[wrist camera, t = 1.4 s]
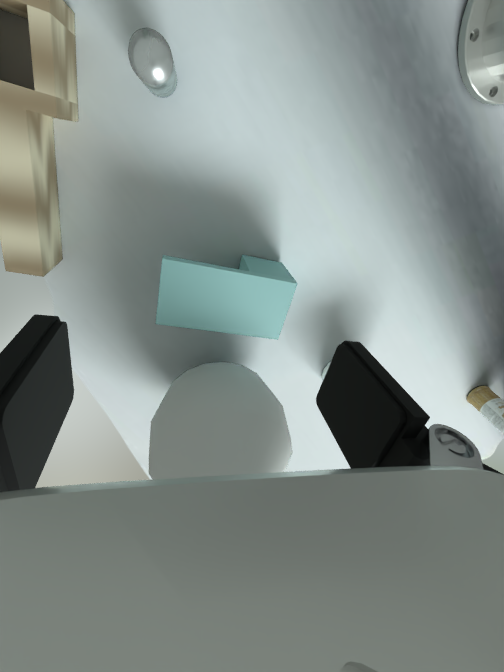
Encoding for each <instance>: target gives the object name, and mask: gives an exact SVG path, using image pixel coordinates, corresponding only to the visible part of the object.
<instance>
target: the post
mask: <svg viewBox="0 0 504 672" xmlns="http://www.w3.org/2000/svg"><path fill="white" fill-rule="evenodd" d="M128 55H129V60H130V63H131V66H132V68H133V70H134V72H135V73H136V75H137V76H138V77H139V78H140V79H141V81H142V82H143V83H144V84H145V86H146V87H147V88H148V89H149V90H150V92H152V93H153V94H154V95H156V96H158V97H161V98H165V97H168V96H170V95H171V94H172V93H173V92H174V91H175V88H176V85H177V75H176V71H175V66H174V62H173V58H172V54H171V50H170V47H169V45H168V43H167V42H166V40H165V39H164V37H163V36H162V35H161V34H159V33H158V32H157V31H155V30H153V29H150V28H142V29H139V30H137V31H136V32H135V33H134V34H133V35H132V37H131V39H130V42H129V47H128Z"/></svg>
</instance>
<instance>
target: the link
mask: <svg viewBox="0 0 504 672" xmlns="http://www.w3.org/2000/svg"><path fill="white" fill-rule="evenodd" d="M0 9H1V10H4V11H7V12H9V13H12V14H15V15H18V16H21V17H24V18H26V19H28V23H29V34H30V45H31V56H32V67H33V78H34V88H35V90H31V89H28V88H25V87H22V86H18V85H15V84H12V83H8V82H5V81H2V80H0V240H1V246H2V252H3V258H4V263H5V269H6V271H9V272H16V273H22V274H29V275H35V276H42V277H44V276H45V275H46V274H47V273H48V272H49V271H50V270H51V269H53V268H54V267H55V266H56V265H57V264H58V263H59V262H60V261H61V260H62V259H63V258H62V244H61V230H60V216H59V201H58V187H57V173H56V159H55V144H54V130H53V117H54V118H58V119H64V120H69V121H75V122H78V101H77V72H76V44H75V15H74V12H73V11H72V10H71V9H70V8H69V7H68V6H67V5H66V3H65V2H64V1H63V0H0Z"/></svg>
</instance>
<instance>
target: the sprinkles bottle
mask: <svg viewBox="0 0 504 672" xmlns="http://www.w3.org/2000/svg"><path fill="white" fill-rule="evenodd" d="M467 401H468V402H469V403H470V404H472V405H473V406H474V407H475V408H476V409H477V410H478V411H479V412H480V413H481V414H482V415H483V416H484V417H485V418H486V419H487V420H488V421H489V422H490V423H491V424H492V425H493V426H494V427H495V428H497V429H498V430H499V431H500V432H501V433H502V434H503V435H504V400H503V399H501V398H500V397H498V396H497V395H496V394H495V393H494V392H493V391H491V389H490V388H489V387H487V386H480V387H477V388H475V389H474V390H472V391H471V392H470V393H469V395H468V397H467Z"/></svg>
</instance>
